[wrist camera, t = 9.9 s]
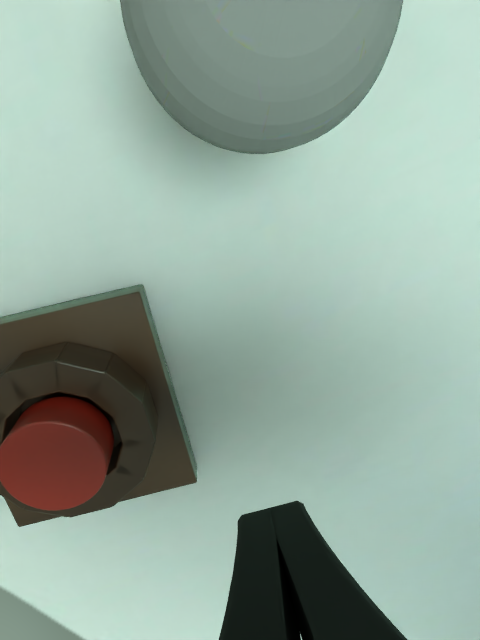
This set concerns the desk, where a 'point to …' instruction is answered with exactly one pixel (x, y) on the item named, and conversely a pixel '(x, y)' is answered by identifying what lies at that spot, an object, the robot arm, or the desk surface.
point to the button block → (99, 391)
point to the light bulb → (260, 64)
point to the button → (56, 454)
